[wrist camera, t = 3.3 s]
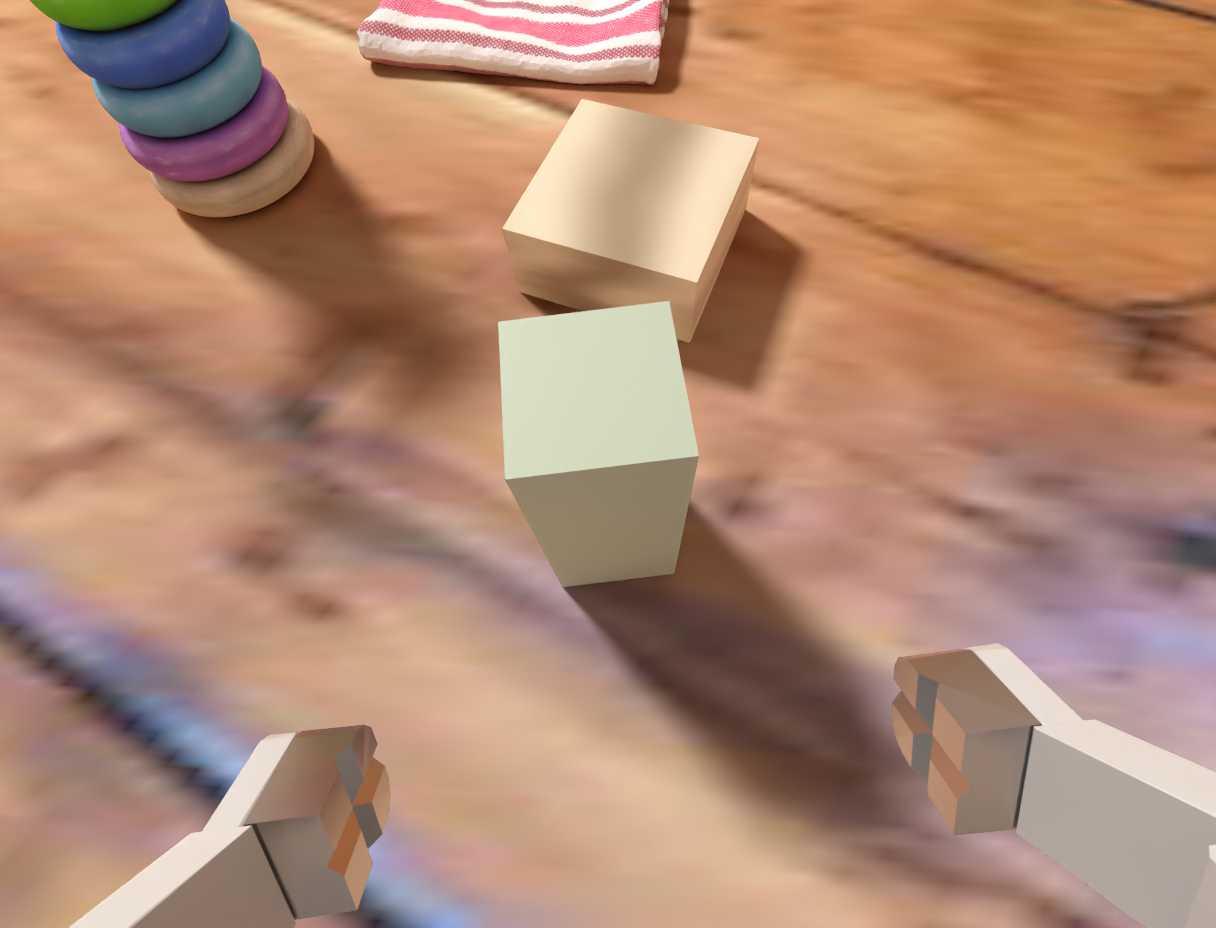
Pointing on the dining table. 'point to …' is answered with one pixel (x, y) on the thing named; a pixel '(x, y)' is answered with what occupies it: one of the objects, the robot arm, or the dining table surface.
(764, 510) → the dining table surface
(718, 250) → the base block
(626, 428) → the pillar
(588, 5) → the dish towel
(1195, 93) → the dining table surface
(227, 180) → the stacking toy
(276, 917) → the robot arm
